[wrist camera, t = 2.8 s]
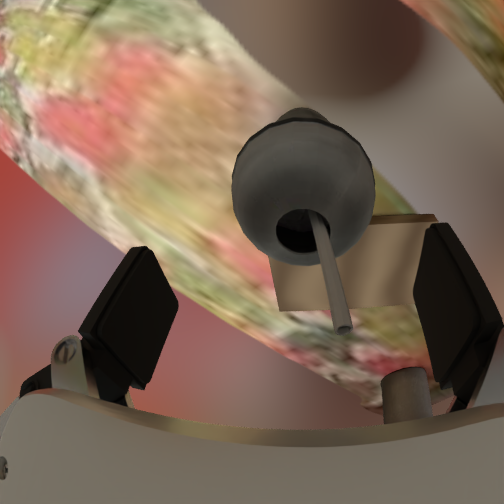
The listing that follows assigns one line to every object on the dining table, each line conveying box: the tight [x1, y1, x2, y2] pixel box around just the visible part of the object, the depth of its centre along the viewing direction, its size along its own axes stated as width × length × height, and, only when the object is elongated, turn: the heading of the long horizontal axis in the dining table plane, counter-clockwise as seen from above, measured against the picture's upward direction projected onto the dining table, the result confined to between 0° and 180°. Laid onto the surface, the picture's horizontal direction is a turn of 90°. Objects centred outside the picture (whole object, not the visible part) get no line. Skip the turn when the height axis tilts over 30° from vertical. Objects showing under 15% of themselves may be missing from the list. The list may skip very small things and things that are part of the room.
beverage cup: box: [232, 108, 375, 336], centre depth 15 cm, size 7×7×20 cm
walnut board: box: [268, 214, 438, 311], centre depth 30 cm, size 18×12×2 cm, turn 102°
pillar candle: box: [381, 367, 433, 424], centre depth 40 cm, size 10×10×15 cm
